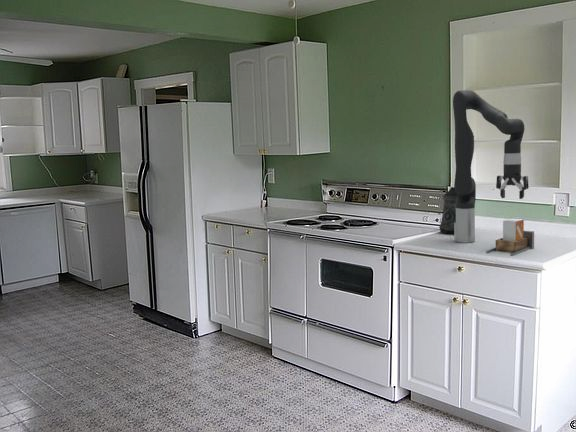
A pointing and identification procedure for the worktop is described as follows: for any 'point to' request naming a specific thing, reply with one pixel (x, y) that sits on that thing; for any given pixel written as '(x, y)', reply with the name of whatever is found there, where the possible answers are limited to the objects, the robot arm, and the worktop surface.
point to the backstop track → (530, 246)
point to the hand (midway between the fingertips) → (512, 198)
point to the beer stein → (449, 212)
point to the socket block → (511, 245)
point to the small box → (513, 229)
